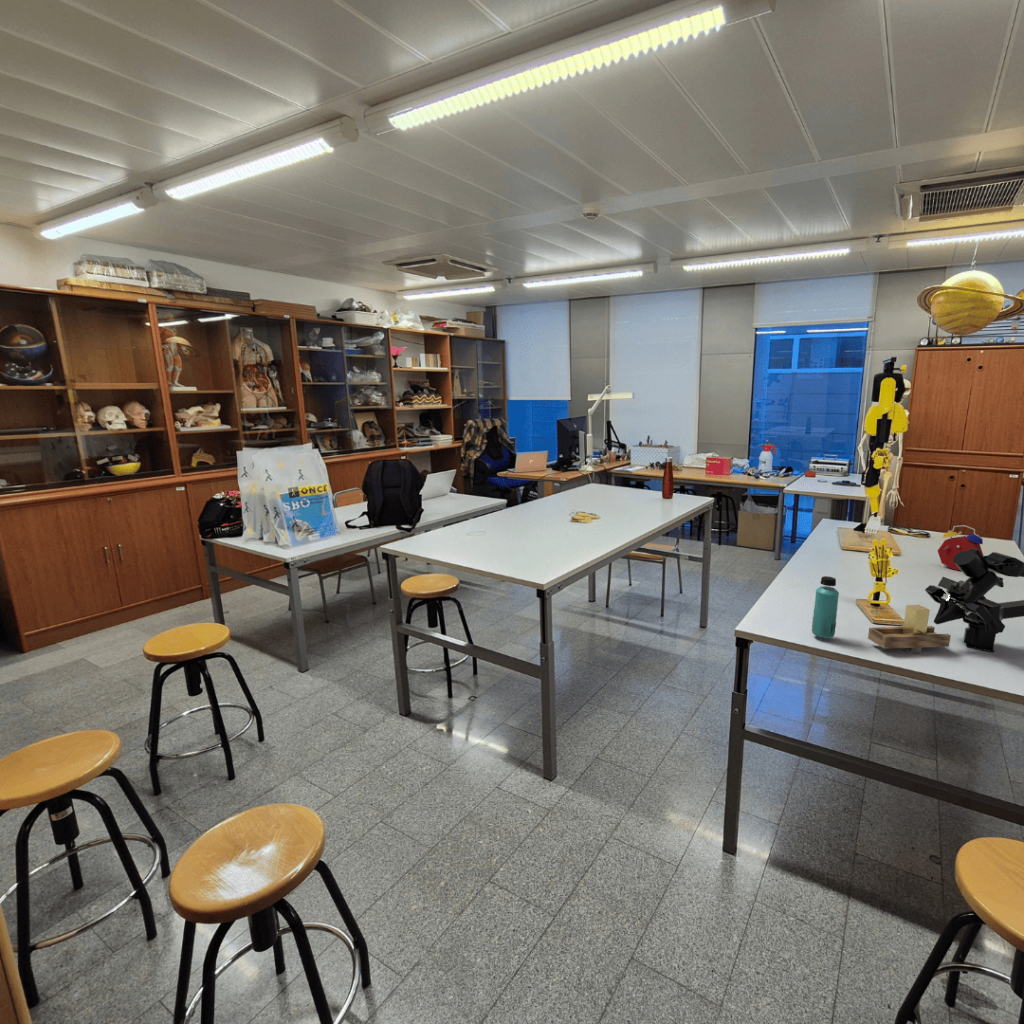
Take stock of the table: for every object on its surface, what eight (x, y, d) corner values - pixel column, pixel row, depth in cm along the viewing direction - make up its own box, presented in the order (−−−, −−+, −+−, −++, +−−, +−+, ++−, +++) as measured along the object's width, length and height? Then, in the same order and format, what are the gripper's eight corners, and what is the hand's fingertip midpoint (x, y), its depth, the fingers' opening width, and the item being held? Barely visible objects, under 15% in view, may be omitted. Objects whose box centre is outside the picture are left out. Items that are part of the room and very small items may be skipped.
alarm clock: (981, 572, 240) (988, 527, 236) (973, 575, 235) (981, 530, 231) (940, 564, 252) (947, 521, 248) (932, 567, 247) (939, 523, 243)
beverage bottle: (831, 644, 169) (838, 582, 165) (807, 638, 174) (814, 577, 170) (836, 637, 174) (843, 577, 170) (813, 632, 178) (819, 572, 174)
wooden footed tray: (929, 642, 170) (931, 625, 169) (947, 652, 164) (950, 635, 162) (866, 644, 169) (869, 627, 168) (883, 654, 162) (885, 637, 161)
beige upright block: (911, 631, 169) (915, 603, 167) (928, 640, 163) (933, 611, 161) (899, 631, 169) (903, 603, 167) (915, 640, 162) (920, 611, 160)
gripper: (934, 560, 171) (896, 594, 173) (989, 579, 153) (945, 617, 155) (955, 583, 173) (916, 617, 175) (1011, 604, 155) (968, 642, 157)
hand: (935, 623), depth 165 cm, fingers closed
